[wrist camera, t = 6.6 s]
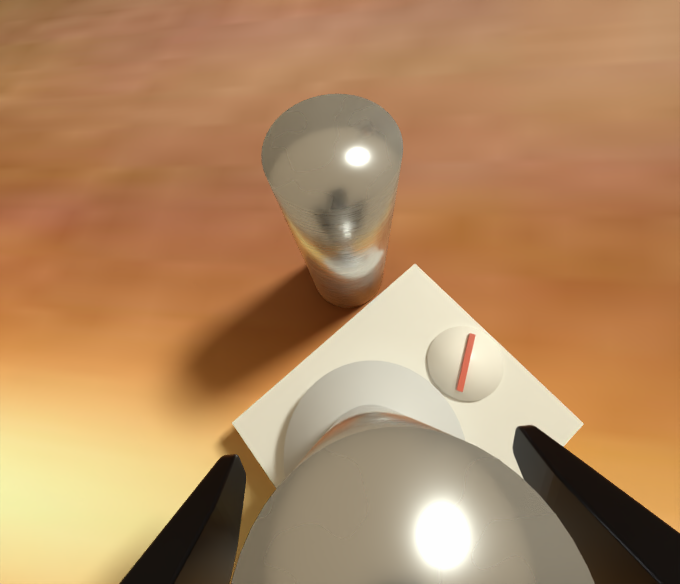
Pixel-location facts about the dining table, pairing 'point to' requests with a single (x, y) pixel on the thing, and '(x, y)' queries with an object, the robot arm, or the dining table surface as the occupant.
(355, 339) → the scale
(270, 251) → the dining table surface
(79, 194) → the dining table surface
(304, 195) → the cylinder
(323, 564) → the shiny silver cylinder
